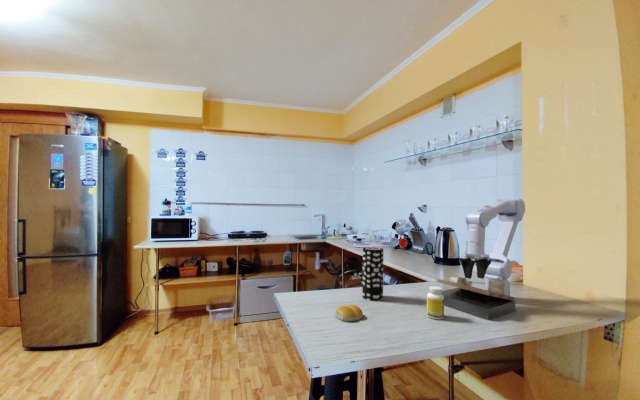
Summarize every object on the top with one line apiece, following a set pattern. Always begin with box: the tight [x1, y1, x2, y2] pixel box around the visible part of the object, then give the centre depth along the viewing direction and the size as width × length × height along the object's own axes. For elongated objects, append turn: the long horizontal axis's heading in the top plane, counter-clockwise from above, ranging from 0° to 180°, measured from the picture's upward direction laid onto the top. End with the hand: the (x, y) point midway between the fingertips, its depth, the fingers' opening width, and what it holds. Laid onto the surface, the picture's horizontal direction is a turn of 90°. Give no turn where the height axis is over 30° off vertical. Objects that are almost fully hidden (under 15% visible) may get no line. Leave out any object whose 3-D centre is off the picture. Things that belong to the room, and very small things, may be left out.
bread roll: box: [334, 304, 363, 322], centre depth 94 cm, size 8×9×4 cm
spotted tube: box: [361, 247, 384, 302], centre depth 115 cm, size 8×8×20 cm
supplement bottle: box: [426, 285, 445, 320], centre depth 95 cm, size 5×5×10 cm
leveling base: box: [441, 287, 516, 321], centre depth 106 cm, size 18×21×4 cm
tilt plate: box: [437, 276, 515, 301], centre depth 107 cm, size 17×20×5 cm
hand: (474, 278), depth 107 cm, fingers open, 7 cm apart
